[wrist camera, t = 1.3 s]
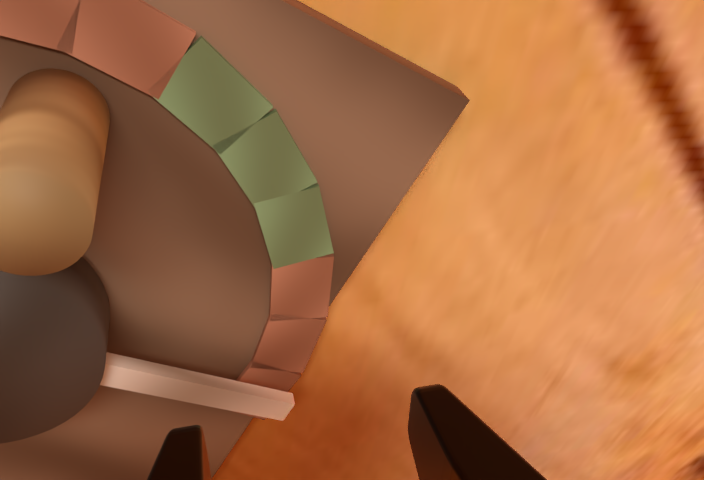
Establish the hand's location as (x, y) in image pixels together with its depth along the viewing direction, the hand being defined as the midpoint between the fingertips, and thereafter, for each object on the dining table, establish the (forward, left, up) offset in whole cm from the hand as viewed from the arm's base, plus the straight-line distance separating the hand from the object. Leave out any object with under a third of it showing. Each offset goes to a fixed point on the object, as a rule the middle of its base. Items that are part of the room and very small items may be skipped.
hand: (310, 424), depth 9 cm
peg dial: (-7, +1, -11) cm, 13 cm away
